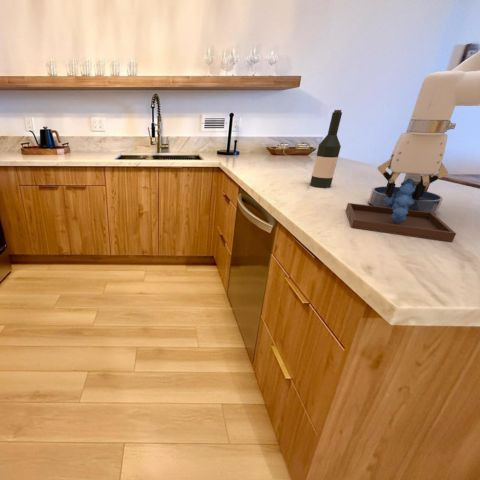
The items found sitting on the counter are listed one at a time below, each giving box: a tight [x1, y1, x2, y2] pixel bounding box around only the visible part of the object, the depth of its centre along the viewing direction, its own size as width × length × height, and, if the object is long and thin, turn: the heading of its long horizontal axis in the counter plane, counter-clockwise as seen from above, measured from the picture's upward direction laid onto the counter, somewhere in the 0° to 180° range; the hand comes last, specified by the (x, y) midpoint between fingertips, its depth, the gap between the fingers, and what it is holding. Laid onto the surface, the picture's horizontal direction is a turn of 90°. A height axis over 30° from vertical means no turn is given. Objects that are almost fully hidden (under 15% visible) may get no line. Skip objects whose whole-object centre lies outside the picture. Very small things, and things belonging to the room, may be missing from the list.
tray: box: [345, 202, 457, 243], centre depth 82 cm, size 22×18×2 cm
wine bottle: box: [309, 109, 343, 189], centre depth 118 cm, size 8×8×30 cm
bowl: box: [368, 185, 444, 215], centre depth 96 cm, size 18×18×5 cm
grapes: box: [384, 179, 416, 224], centre depth 80 cm, size 12×7×12 cm, turn 140°
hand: (401, 197), depth 79 cm, fingers closed on grapes, 5 cm apart
